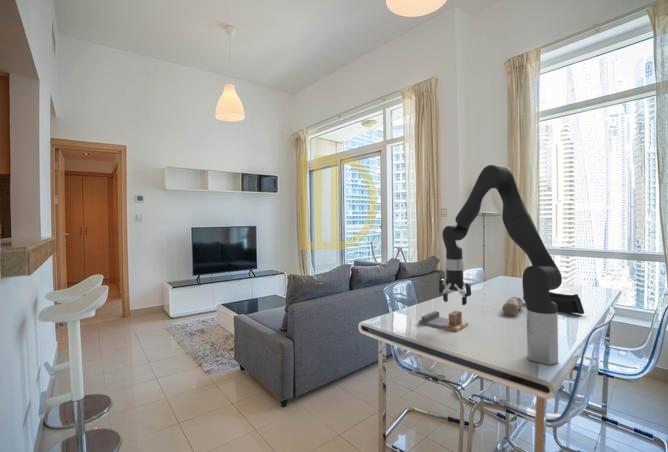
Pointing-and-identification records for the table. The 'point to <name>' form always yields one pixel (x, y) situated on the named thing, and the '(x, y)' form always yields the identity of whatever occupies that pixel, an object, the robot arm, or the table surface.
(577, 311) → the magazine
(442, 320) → the board
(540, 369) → the table surface
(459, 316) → the stub
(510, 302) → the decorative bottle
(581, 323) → the table surface
